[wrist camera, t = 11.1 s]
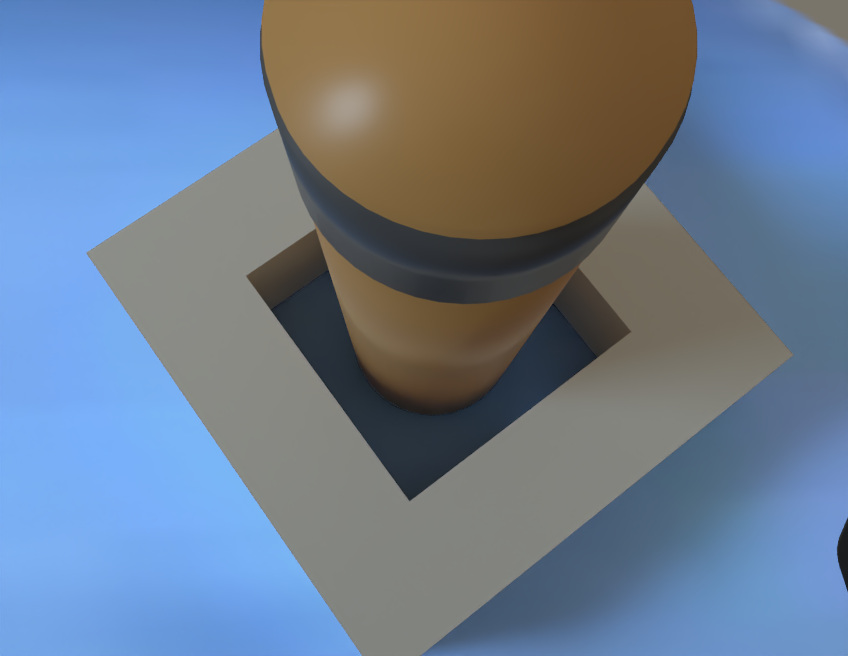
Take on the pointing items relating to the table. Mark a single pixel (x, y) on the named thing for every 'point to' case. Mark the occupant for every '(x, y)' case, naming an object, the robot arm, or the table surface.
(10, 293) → the table surface
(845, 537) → the robot arm
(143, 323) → the socket block
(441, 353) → the plug
